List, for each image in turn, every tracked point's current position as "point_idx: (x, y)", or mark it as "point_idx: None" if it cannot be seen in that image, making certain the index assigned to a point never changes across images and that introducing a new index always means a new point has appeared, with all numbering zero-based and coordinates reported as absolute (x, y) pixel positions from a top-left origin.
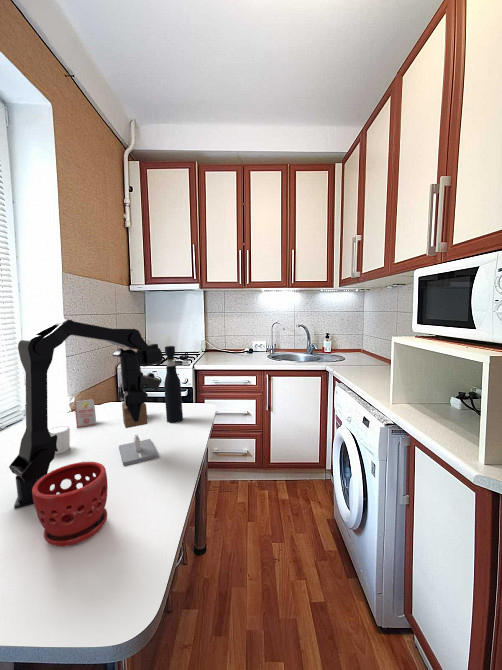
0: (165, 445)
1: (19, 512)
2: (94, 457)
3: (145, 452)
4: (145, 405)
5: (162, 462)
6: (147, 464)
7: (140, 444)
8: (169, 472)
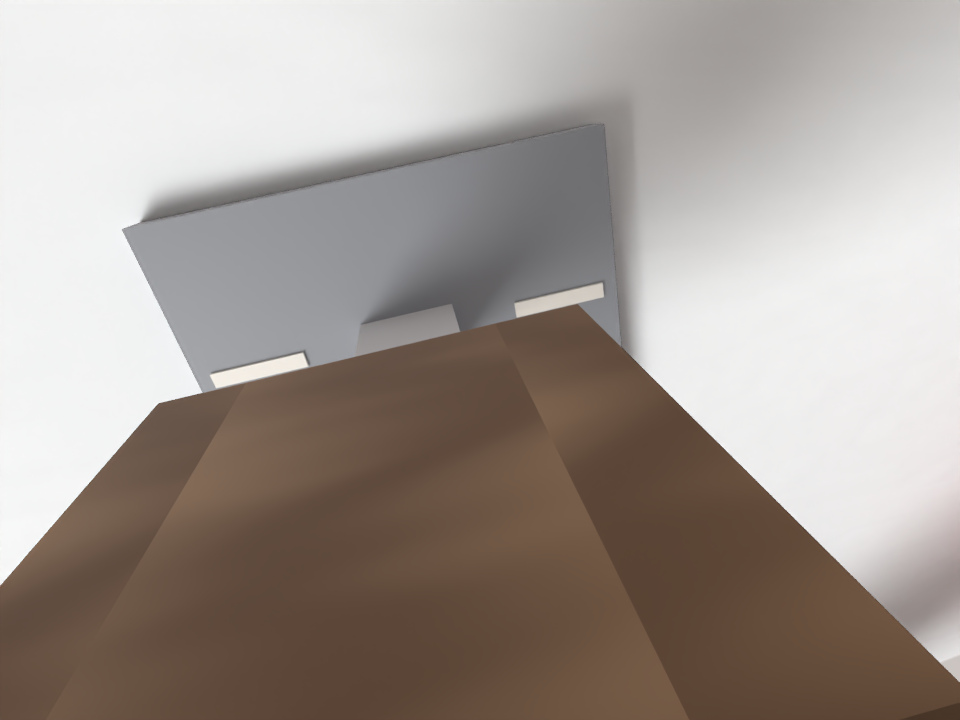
0: (299, 33)
1: None
2: None
3: (507, 255)
4: (948, 705)
5: (716, 82)
6: (684, 221)
7: (284, 321)
8: (933, 20)
